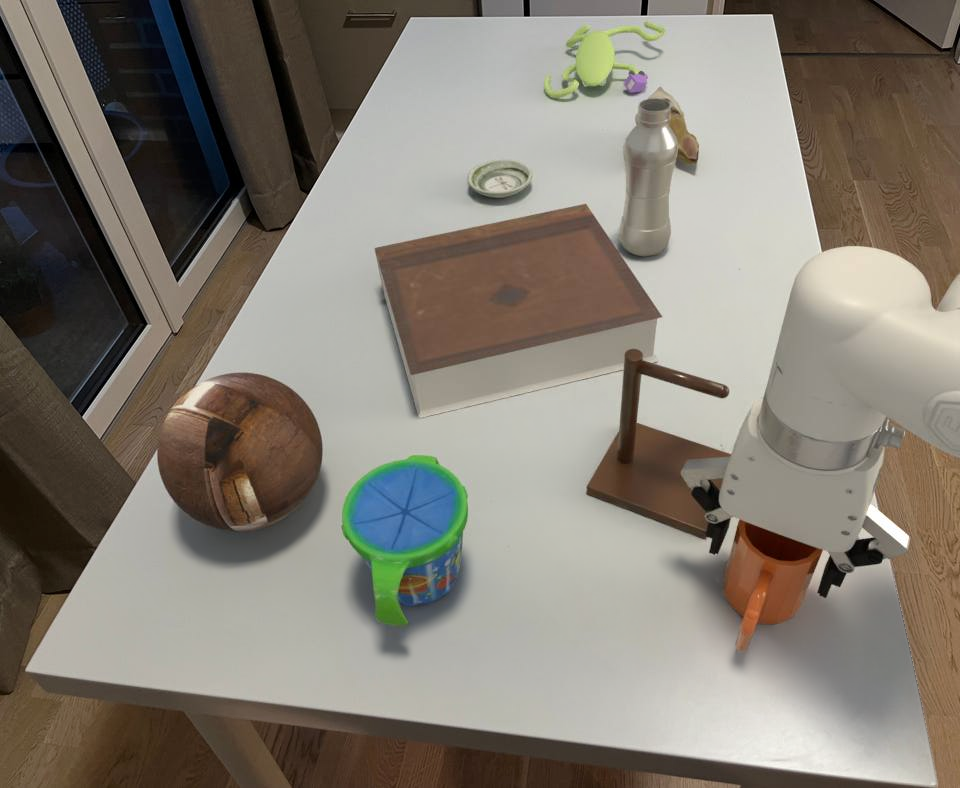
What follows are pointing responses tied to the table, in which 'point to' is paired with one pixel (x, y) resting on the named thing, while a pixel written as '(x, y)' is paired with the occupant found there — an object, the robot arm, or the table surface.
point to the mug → (766, 577)
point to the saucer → (499, 177)
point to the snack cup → (407, 532)
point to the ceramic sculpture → (679, 129)
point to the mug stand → (653, 455)
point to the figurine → (601, 59)
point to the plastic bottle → (648, 179)
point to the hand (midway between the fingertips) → (770, 561)
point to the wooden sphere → (239, 451)
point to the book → (512, 308)
